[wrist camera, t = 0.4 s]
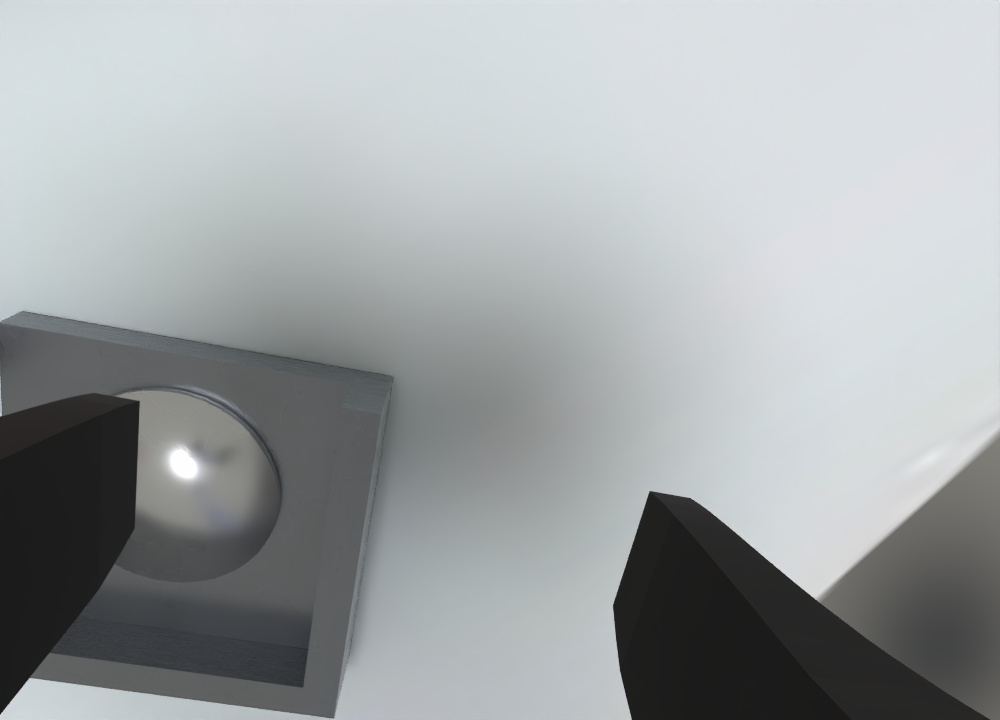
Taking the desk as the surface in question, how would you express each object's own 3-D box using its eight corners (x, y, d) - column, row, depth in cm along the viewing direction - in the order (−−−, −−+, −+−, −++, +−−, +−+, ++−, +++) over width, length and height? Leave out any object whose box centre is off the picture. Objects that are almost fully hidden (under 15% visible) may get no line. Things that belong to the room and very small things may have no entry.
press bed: (349, 656, 23) (333, 718, 21) (31, 610, 23) (-21, 671, 20) (393, 376, 20) (380, 414, 18) (21, 311, 19) (-43, 342, 17)
